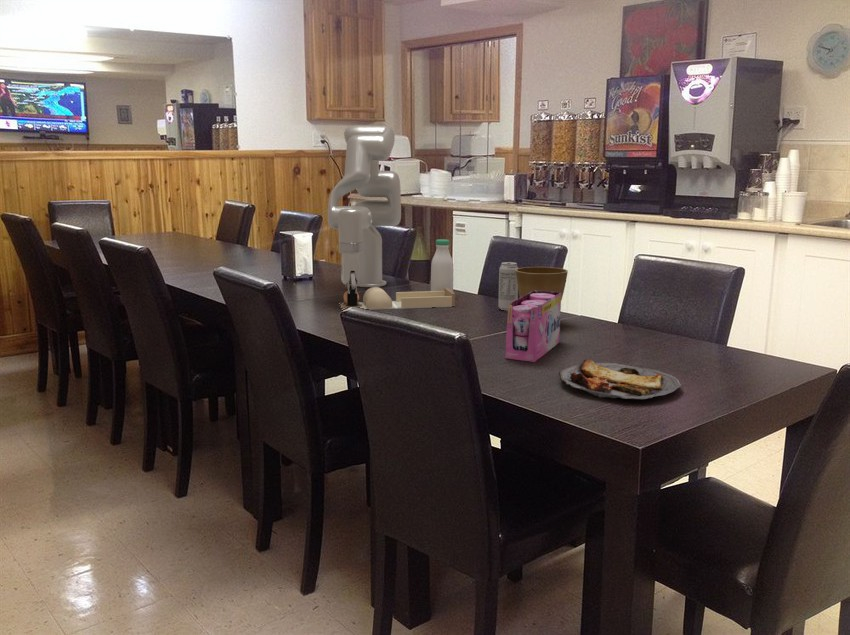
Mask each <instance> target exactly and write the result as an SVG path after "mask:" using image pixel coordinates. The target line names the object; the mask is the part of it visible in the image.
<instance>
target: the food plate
mask: <svg viewBox="0 0 850 635" xmlns="http://www.w3.org/2000/svg"><path fill="white" fill-rule="evenodd" d="M558 375H559V380H560V381H561V382H562V383H563V384H565V385H567V386H568V385H570V387H571V388H573V389H579V390H583V391H585V392H587V393H589V394H591V395H593V396H596V397H598V398H611V399H617V398H618V399H624V400H628V399H629V400H647V399H652V398H653V397H659V396H660V397H661V396H667V395H668V394H670V393H671V394H672V393H673V392H675V391H677V390H678V389H679V388H680V387H681V386H682V384H681V383H680V381H679V379H678V378H676V377H675V376H673V375H671V374H669V373H667V372H666V373H665V372H662V371H660V370H657V369H655V368H652V367H647V366H643V365H636V364H625V363H615V362H595V361H593V360H592V359H588V358H585V359H584V360H583V361H582V363H580V364H573V365H571V366H568V367H565V368H562V369H561V370H560V371H559V372H558ZM563 384H562V385H563ZM652 391H657V392H655V393H653V394H652ZM633 395H634V396H633Z"/></svg>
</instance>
